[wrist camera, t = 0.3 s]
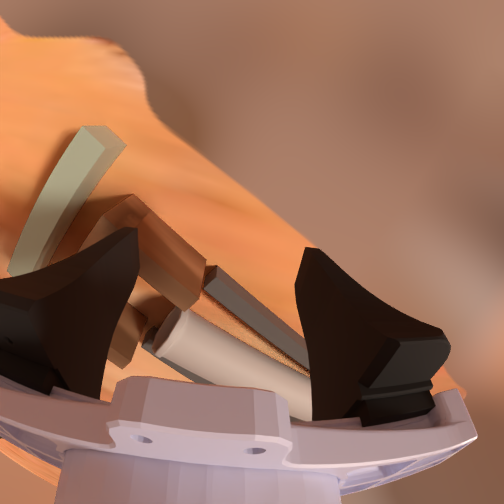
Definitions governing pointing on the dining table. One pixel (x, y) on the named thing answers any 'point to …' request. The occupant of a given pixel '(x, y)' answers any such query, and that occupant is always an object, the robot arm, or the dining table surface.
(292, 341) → the guide rails
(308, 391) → the tube
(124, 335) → the socket block
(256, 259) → the dining table surface
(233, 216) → the dining table surface
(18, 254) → the wall
